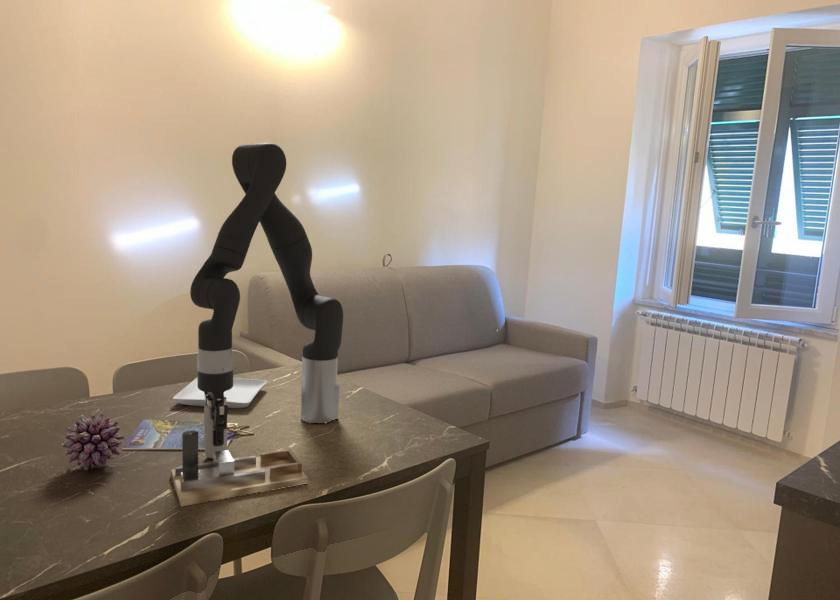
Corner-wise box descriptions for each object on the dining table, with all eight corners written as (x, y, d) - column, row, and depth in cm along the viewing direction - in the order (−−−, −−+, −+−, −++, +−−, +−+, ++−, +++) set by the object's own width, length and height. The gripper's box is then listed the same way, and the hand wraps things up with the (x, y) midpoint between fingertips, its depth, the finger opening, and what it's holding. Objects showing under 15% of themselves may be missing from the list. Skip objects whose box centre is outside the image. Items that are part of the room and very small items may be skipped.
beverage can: (220, 460, 141) (220, 408, 139) (200, 457, 142) (199, 406, 139) (231, 451, 145) (231, 401, 143) (211, 449, 146) (211, 399, 144)
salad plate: (249, 413, 173) (249, 401, 172) (171, 409, 173) (170, 397, 173) (268, 390, 194) (268, 379, 193) (198, 385, 194) (198, 375, 194)
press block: (227, 467, 135) (228, 423, 133) (234, 479, 130) (234, 433, 128) (180, 474, 130) (180, 429, 129) (184, 487, 125) (184, 440, 123)
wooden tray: (287, 458, 145) (288, 443, 145) (307, 484, 133) (308, 468, 133) (170, 476, 133) (170, 460, 133) (181, 506, 121) (180, 489, 121)
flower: (48, 472, 132) (46, 417, 130) (96, 452, 143) (95, 401, 141) (91, 484, 128) (89, 428, 126) (137, 462, 139) (136, 410, 137)
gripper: (240, 374, 136) (240, 450, 138) (226, 357, 148) (226, 427, 151) (203, 378, 132) (204, 455, 135) (192, 360, 144) (192, 431, 147)
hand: (215, 440), depth 143 cm, fingers closed on beverage can, 4 cm apart
